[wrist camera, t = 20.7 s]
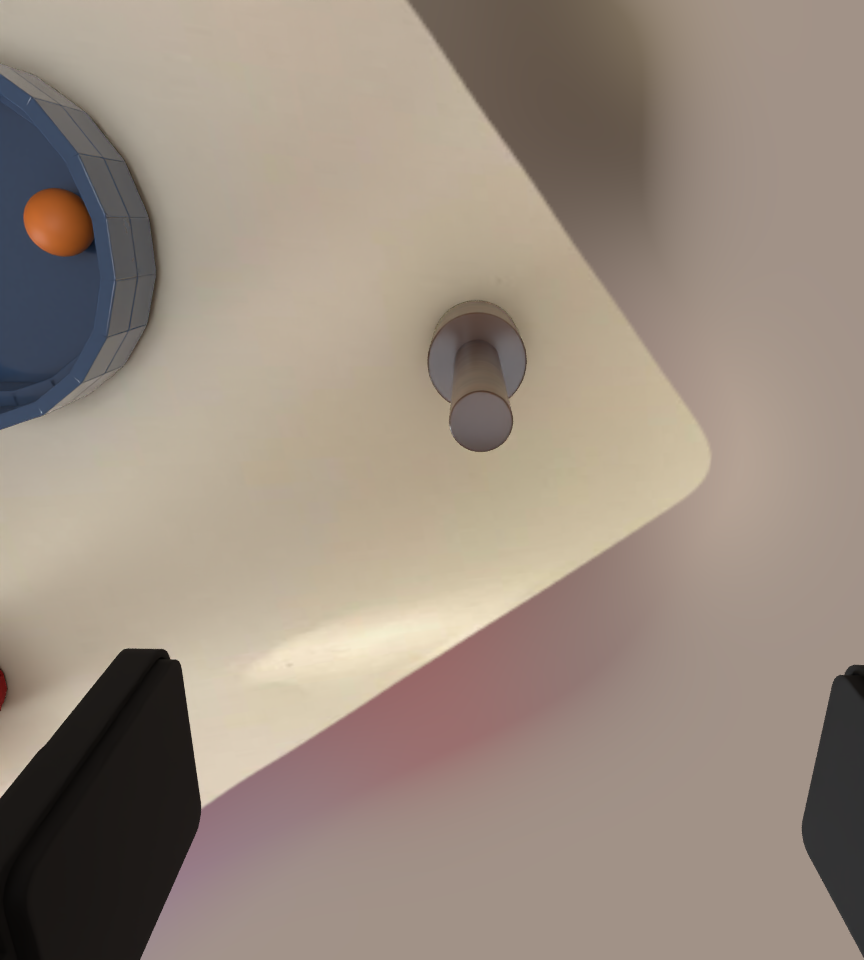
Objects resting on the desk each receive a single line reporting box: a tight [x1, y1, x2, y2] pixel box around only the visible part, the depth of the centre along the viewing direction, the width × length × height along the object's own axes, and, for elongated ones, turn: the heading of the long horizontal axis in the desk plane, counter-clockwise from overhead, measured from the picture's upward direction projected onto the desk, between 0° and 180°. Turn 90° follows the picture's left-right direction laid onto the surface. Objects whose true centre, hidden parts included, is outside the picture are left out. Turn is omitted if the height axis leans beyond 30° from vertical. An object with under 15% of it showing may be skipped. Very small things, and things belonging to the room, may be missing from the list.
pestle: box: [428, 300, 527, 452], centre depth 30 cm, size 4×4×15 cm
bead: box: [23, 188, 94, 257], centre depth 33 cm, size 3×3×3 cm
